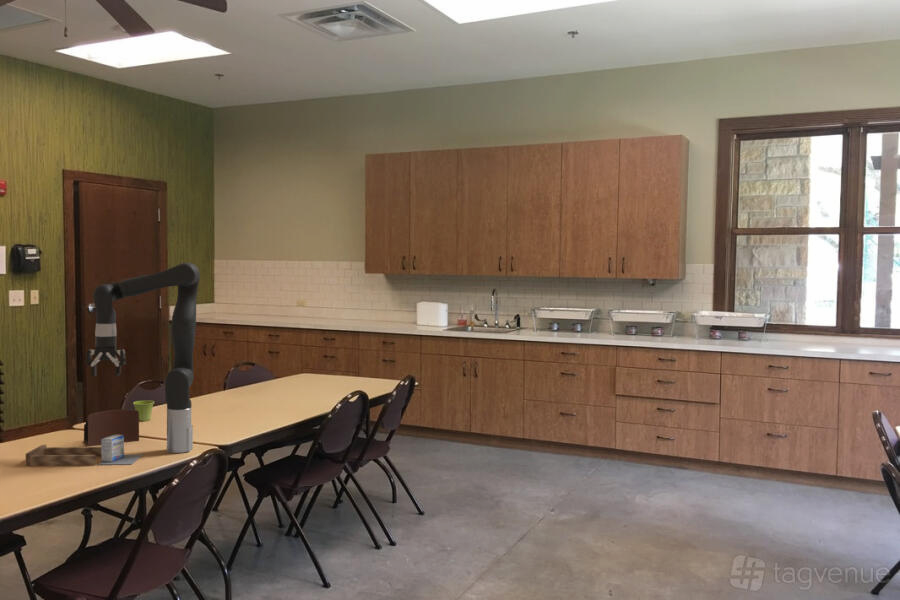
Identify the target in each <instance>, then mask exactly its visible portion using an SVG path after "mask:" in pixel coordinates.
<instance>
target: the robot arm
mask: <svg viewBox="0 0 900 600" xmlns="http://www.w3.org/2000/svg"><path fill="white" fill-rule="evenodd" d="M200 277H201V274H200V269H199V268H198V266H197V265H196V264H194V263H191V262H181V263H179V264H178V265H177V264H176V265H175V266H173V267H170V268H168V269H165V270H162V271H159V272H156V273H155V272H154V273H151V274H145V275H139V276H134V277H130V278H127V279H126V278H125V279H124V280H121V281H117V282H112V283H107V284H99V285H97V286H96V287H95V288H94V292H93V303H94V308H95V312H96V316H95V317H96V318H95V321H96V323H95V331H94V333H95V334H94V335H95V336H94V337H95V340H94V341H95V349H87V350H86V354H85V355H86V356H85V357H86V358H85V364H86V366H90V367H91V368H90V371H91V372H90V373H91V375H92V376H93V377H96V376H97V375H98V374H97V372H98V370H97V367H98V366H97V364H98V363H99V362H100V361H101V362H104V361H107V362H108V361H109V362H110V361H111V363H113V364H114V365H115V377H119V376H120V375H121V371H122V366H124V365H126V364H127V361H126V360H127V359H126V350H125V349H117V322H116V321H117V319H116V318H117V314H116V313H117V312H116V310H115V309H114V307H113V305H114V304H113V302H114V301H118V300H121V299H124V298H130V297H136V296H139V295H143V294H144V295H145V294H146V293H150V292H152V291H156V290H159V289H162V288H163V289H164V288H168V287H177V298H176V303H175V305H174V309H173V311H172V315H171V316H172V318H171V325H170V337H171V339H170V340H171V343H172V344H171V345H172V347H173V355H174V357H173V364H172V370H170V371H168V373H167V374H166V376H165V381H164V389H165V390H164V394H165V395H164V396H165V397H164V398H165V403H166V453H167V452H168V453H171V454H181V453H189V452H191V451H192V449H193V445H194V444H193V441H194V440H193V439H194V438H193V437H194V436H193V435H194V432H193V431H194V429H193V428H194V427H193V425H192V400H191V399H190V387H191V385H192V384H193V383H194V378H195V377H194V375H195V374H194V349H195V342H196V330H197V329H196V328H197V327H196V326H197V325H196V324H197V296H198V295H197V294H198V290H199V284H200V283H199V282H200ZM94 354H95V356H96V357H95V358H94V360H93V355H94ZM116 355H119V356H120V360H119V359H118V357H117V356H116Z"/></svg>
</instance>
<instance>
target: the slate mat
mask: <svg viewBox="0 0 900 600" xmlns="http://www.w3.org/2000/svg"><path fill="white" fill-rule="evenodd" d="M143 455H144V454H124V457H122V458H120V459H118V460H116V461H113V462H104V461H102V460H101V461H100V462H99V463H98V464H97V466H127V465H128V466H129V465H131V466H132V465H133V464H134V463H136V462H137V461H138V460H139V459H140V458H141V457H143Z"/></svg>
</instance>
